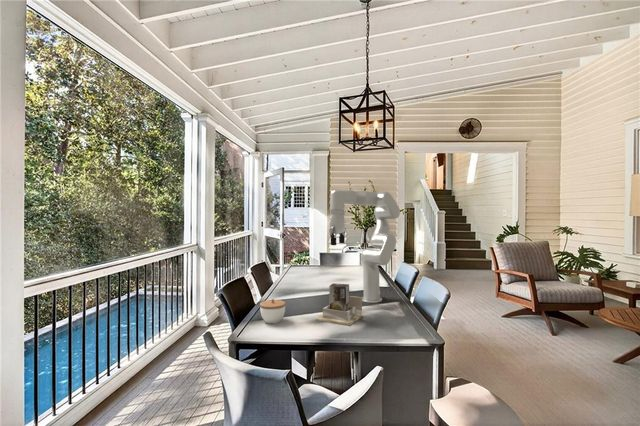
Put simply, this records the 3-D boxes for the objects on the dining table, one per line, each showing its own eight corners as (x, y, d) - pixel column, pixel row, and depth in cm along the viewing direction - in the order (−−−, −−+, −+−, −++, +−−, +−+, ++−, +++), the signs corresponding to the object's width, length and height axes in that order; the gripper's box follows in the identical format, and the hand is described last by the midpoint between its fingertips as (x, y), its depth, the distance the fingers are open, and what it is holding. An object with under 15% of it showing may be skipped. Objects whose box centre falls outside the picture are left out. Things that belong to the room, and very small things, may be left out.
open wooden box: (331, 311, 195) (331, 293, 195) (362, 316, 186) (362, 297, 186) (316, 320, 181) (316, 300, 181) (348, 325, 172) (348, 305, 172)
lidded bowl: (257, 319, 184) (257, 297, 183) (281, 316, 188) (281, 295, 188) (263, 326, 172) (263, 303, 172) (288, 323, 177) (288, 301, 177)
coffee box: (350, 315, 185) (349, 284, 185) (346, 319, 179) (346, 286, 179) (333, 313, 189) (332, 282, 188) (329, 317, 183) (328, 285, 182)
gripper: (338, 212, 206) (338, 242, 206) (323, 213, 191) (323, 245, 191) (350, 212, 202) (350, 243, 202) (336, 213, 187) (336, 246, 187)
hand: (337, 244), depth 197 cm, fingers open, 9 cm apart
